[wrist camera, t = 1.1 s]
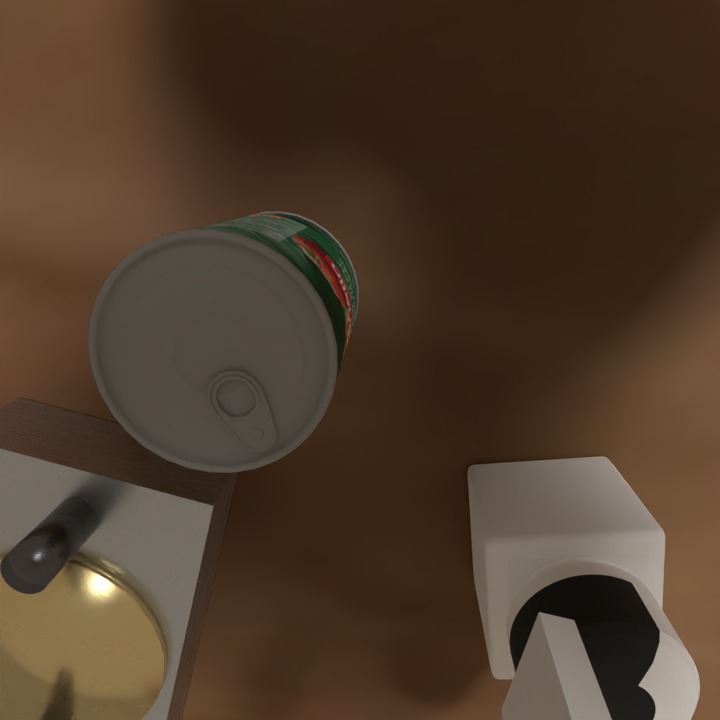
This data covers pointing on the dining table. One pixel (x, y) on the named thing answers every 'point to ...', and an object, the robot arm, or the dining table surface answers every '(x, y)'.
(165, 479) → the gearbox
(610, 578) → the medicine bottle
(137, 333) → the canned tomato
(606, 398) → the dining table surface
